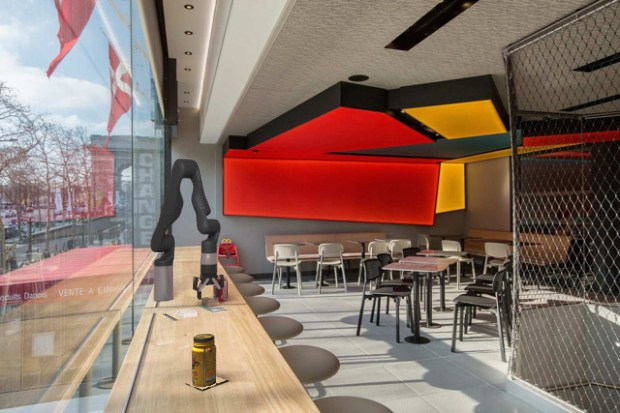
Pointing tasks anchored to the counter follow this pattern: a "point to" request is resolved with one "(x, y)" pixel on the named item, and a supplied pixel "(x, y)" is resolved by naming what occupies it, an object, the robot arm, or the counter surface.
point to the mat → (170, 317)
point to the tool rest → (208, 308)
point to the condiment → (203, 360)
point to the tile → (186, 313)
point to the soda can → (221, 291)
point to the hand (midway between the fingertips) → (208, 298)
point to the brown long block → (211, 304)
